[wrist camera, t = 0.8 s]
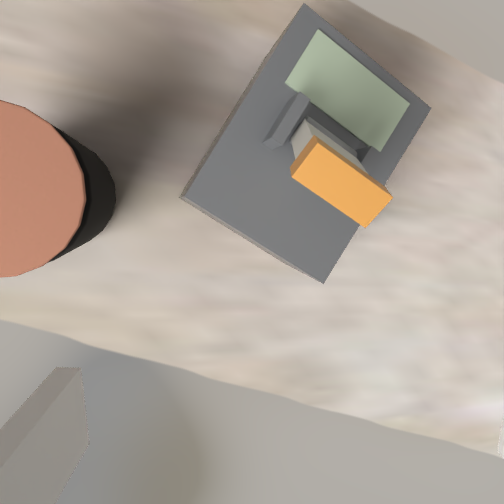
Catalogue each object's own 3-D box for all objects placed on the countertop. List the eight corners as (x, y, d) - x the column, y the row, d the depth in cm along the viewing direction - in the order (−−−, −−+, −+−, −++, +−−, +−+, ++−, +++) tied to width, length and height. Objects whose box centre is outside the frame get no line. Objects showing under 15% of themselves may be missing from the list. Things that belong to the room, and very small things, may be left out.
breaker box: (179, 197, 44) (186, 196, 30) (266, 54, 44) (317, -17, 30) (284, 263, 48) (337, 291, 33) (366, 130, 48) (455, 100, 33)
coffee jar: (79, 121, 41) (17, 62, 24) (137, 213, 44) (119, 222, 26) (-20, 173, 40) (-162, 152, 23) (45, 266, 42) (-39, 312, 25)
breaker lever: (284, 135, 33) (291, 177, 24) (303, 110, 32) (317, 142, 23) (338, 174, 35) (365, 228, 25) (357, 150, 34) (393, 197, 24)
